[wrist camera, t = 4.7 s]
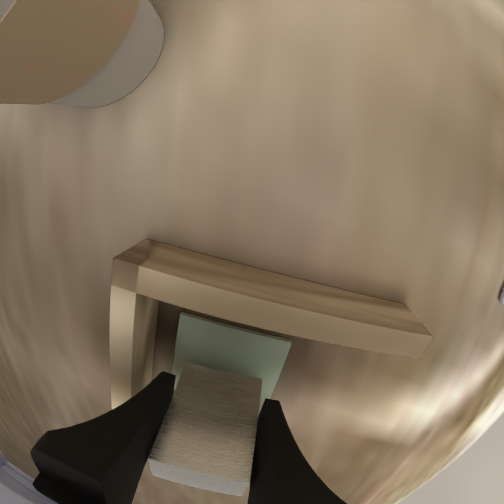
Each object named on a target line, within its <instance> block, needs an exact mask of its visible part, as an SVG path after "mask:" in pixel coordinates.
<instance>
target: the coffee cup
mask: <svg viewBox="0 0 504 504" xmlns="http://www.w3.org/2000/svg"><path fill="white" fill-rule="evenodd" d="M163 43H164V27H163V23H162V21H161V19H160V17H159V15H158V14H157V12H156V11H155V9H154V7H153V6H152V4H151V3H150V1H149V0H0V104H45V103H53V104H64V105H73V106H81V107H101V106H105V105H108V104H111V103H113V102H116V101H118V100H120V99H121V98H123V97H125V96H126V95H128V94H129V93H130V92H132V91H133V90H134V89H135V88H136V87H138V86H139V85H140V84H141V83H142V82H143V81H144V79H145V78H146V77H147V76H148V75H149V73H150V72H151V70H152V69H153V67H154V66H155V64H156V62H157V60H158V58H159V56H160V53H161V51H162V47H163Z"/></svg>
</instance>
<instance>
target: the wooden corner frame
mask: <svg viewBox="0 0 504 504" xmlns="http://www.w3.org/2000/svg"><path fill="white" fill-rule="evenodd" d="M160 301H163V302H166V303H169V304H173V305H176V306H180V307H183V308H186V309H190V310H193V311H197V312H201V313H204V314H208V315H211V316H215V317H219V318H222V319H226V320H230V321H234V322H238V323H242V324H246V325H250V326H254V327H258V328H262V329H266V330H270V331H275V332H279V333H283V334H288V335H292V336H297V337H301V338H306V339H311V340H315V341H320V342H325V343H330V344H335V345H341V346H346V347H351V348H357V349H362V350H368V351H374V352H380V353H386V354H392V355H399V356H406V357H413V358H420V359H422V357H423V355H424V353H425V351H426V350H427V348H428V346H429V344H430V342H431V340H432V338H433V336H432V335H431V333H430V332H429V331H428V330H427V329H426V327H425V326H424V325H423V324H422V323H421V322H420V320H419V319H418V318H417V317H416V316H415V315H414V314H413V312H412V311H411V310H410V309H409V308H408V307H407V306H406V305H405V304H400V303H396V302H392V301H388V300H384V299H379V298H375V297H371V296H367V295H363V294H359V293H355V292H351V291H346V290H342V289H338V288H334V287H330V286H326V285H322V284H318V283H314V282H310V281H306V280H302V279H298V278H294V277H290V276H286V275H282V274H278V273H274V272H270V271H266V270H262V269H259V268H255V267H251V266H247V265H243V264H239V263H235V262H231V261H228V260H224V259H220V258H216V257H212V256H208V255H205V254H201V253H197V252H193V251H189V250H186V249H182V248H178V247H174V246H171V245H167V244H163V243H159V242H156V241H152V240H148V239H145V240H144V241H142V242H140V243H138V244H137V245H135V246H133V247H131V248H130V249H128V250H126V251H125V252H123V253H121V254H119V255H118V256H116V257H114V258H113V267H112V281H111V298H110V382H111V399H112V410H113V409H114V408H116V407H118V406H120V405H121V404H123V403H124V402H126V401H127V400H129V399H130V398H132V397H133V396H134V395H136V394H137V393H138V392H139V391H141V390H142V389H143V388H144V387H146V386H147V385H148V384H149V383H150V382H151V381H152V370H153V358H154V347H155V337H156V327H157V318H158V310H159V302H160ZM291 344H292V340H291V339H286V338H282V337H277V336H273V335H269V334H265V333H260V332H256V331H252V330H248V329H244V328H240V327H236V326H232V325H229V324H225V323H221V322H217V321H214V320H210V319H206V318H203V317H199V316H196V315H192V314H189V313H185V312H181V314H180V318H179V325H178V331H177V338H176V345H175V352H174V359H173V367H172V374H173V375H176V379H175V386H174V391H175V388H176V386H177V383H178V381H179V378H180V376H181V373H182V371H183V368H184V366H185V363H186V362H189V363H193V364H197V365H201V366H205V367H209V368H214V369H218V370H222V371H227V372H231V373H236V374H241V375H246V376H251V377H256V378H261V379H263V380H262V389H261V398H260V406H259V413H260V411H261V408H262V406H263V403H264V401H265V398H267V399H270V398H271V396H272V394H273V391H274V389H275V386H276V384H277V381H278V379H279V376H280V373H281V371H282V368H283V366H284V363H285V360H286V358H287V355H288V352H289V350H290V347H291ZM258 416H259V415H258Z"/></svg>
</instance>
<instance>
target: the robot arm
mask: <svg viewBox="0 0 504 504" xmlns="http://www.w3.org/2000/svg"><path fill="white" fill-rule="evenodd" d="M500 302H501V303H502V304H504V288H503V291H502V293H501V296H500ZM175 379H176V375H173V374H170V373H167V372H164V371H163V372H161V373H160V374H159V375H158V376H157V377H156V378H155V379H154V380H153V381H151V382H150V383H149V384H148V385H147V386H146V387H144V388H143V389H142V390H141V391H139V392H138V393H137V394H136V395H134V396H133V397H132V398H130V399H129V400H127V401H126V402H124V403H123V404H121V405H120V406H118V407H116V408H114V409H113V410H111V411H109V412H107V413H105V414H103V415H101V416H99V417H96V418H94V419H92V420H89V421H87V422H84V423H80V424H77V425H74V426H71V427H67V428H62V429H57V430H52V431H47V432H46V433H45V434H44V435H43V436H42V437H41V438H40V439H39V440H38V442H37V443H36V444H35V446H34V447H33V448H32V450H31V456H32V459H33V461H34V463H35V465H36V466H37V468H38V470H39V472H40V473H39V474H38V476H37V477H36V479H35V480H34V479H33V478H31V477H30V476H28V475H27V474H25V473H24V472H22V471H21V470H19V469H18V468H17V467H15V466H14V465H12V464H11V463H10V462H8V461H7V460H6V458H5V456H4V455H3V453H2V452H1V451H0V504H132V501H133V498H134V495H135V492H136V489H137V486H138V483H139V480H140V477H141V474H142V472H143V469H144V466H145V463H146V461H147V459H148V457H149V455H150V452H151V450H152V447H153V444H154V442H155V439H156V437H157V434H158V431H159V429H160V426H161V424H162V421H163V419H164V416H165V414H166V412H167V410H168V408H169V405H170V402H171V400H172V397H173V394H174V386H175ZM248 504H347V503H345V502H344V501H343V500H341V499H340V498H339V497H338V496H337V495H335V494H334V493H333V492H332V491H331V490H330V489H329V488H328V487H327V486H326V485H325V484H324V482H323V481H322V480H321V479H320V478H319V477H318V476H317V474H316V473H315V472H314V470H313V469H312V468H311V466H310V465H309V464H308V462H307V461H306V459H305V458H304V456H303V454H302V453H301V451H300V449H299V447H298V445H297V444H296V442H295V440H294V438H293V435H292V433H291V431H290V429H289V426H288V424H287V421H286V419H285V416H284V413H283V411H282V407H281V404H280V402H279V401H277V400H272V399H267V398H265V401H264V403H263V406H262V408H261V411H260V413H259V416H258V423H257V431H256V439H255V447H254V454H253V462H252V469H251V477H250V491H249V497H248Z"/></svg>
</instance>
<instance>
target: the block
mask: <svg viewBox="0 0 504 504" xmlns="http://www.w3.org/2000/svg"><path fill="white" fill-rule="evenodd" d="M262 380H263V379H261V378H256V377H251V376H246V375H241V374H236V373H231V372H227V371H222V370H218V369H214V368H209V367H205V366H201V365H197V364H193V363H189V362H186V363H185V366H184V368H183V371H182V373H181V376H180V378H179V381H178V383H177V386H176V388H175V391H174V394H173V397H172V400H171V402H170V405H169V408H168V410H167V412H166V414H165V416H164V419H163V421H162V424H161V426H160V429H159V431H158V434H157V437H156V439H155V442H154V444H153V447H152V450H151V452H150V455H149V458H148V460H149V464H150V468H151V472H152V475H153V476H156V477H160V478H163V479H166V480H170V481H173V482H177V483H180V484H184V485H188V486H192V487H196V488H201V489H205V490H210V491H214V492H219V493H225V494H230V495H236V496H242V495H243V493H244V492H245V490H246V488H247V486H248V485H249V483H250V477H251V469H252V462H253V454H254V447H255V439H256V431H257V423H258V415H259V406H260V398H261V389H262Z"/></svg>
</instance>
